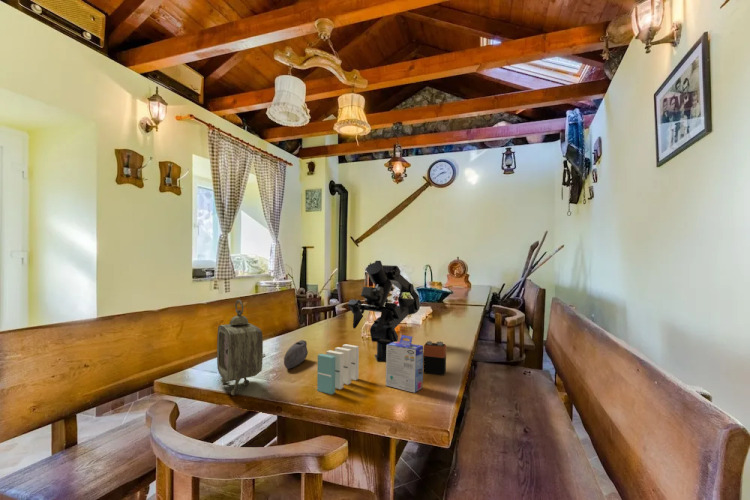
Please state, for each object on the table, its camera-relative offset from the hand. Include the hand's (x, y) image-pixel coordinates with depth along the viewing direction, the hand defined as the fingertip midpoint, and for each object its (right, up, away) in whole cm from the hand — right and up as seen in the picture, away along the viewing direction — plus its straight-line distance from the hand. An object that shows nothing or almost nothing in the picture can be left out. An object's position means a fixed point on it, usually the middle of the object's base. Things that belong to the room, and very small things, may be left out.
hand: (364, 329), depth 110 cm
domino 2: (-8, -13, -14) cm, 21 cm away
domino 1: (-10, -13, -18) cm, 24 cm away
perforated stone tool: (-24, -14, +5) cm, 28 cm away
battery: (+23, -14, -2) cm, 27 cm away
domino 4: (-4, -13, -7) cm, 16 cm away
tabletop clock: (-36, -13, -15) cm, 41 cm away
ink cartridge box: (+12, -14, -14) cm, 23 cm away
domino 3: (-6, -13, -11) cm, 18 cm away
